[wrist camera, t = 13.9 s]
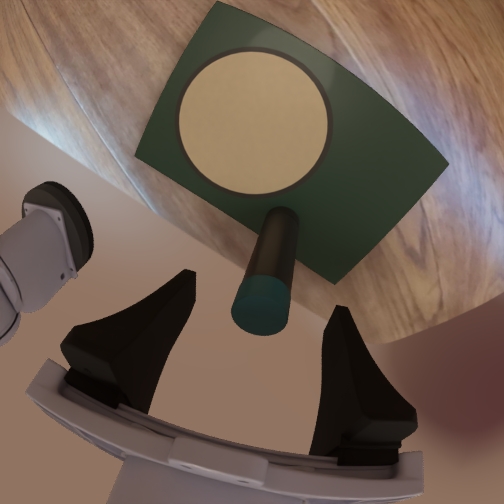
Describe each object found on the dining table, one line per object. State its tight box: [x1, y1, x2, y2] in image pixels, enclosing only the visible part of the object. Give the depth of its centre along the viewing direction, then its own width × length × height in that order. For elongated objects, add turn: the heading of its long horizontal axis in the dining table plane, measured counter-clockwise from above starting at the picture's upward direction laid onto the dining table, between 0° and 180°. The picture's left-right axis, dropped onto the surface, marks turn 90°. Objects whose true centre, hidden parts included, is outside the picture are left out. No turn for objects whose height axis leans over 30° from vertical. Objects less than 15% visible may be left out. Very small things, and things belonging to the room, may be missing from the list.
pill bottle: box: [231, 206, 299, 336], centre depth 17 cm, size 3×3×10 cm
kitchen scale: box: [135, 1, 449, 285], centre depth 18 cm, size 20×14×1 cm
